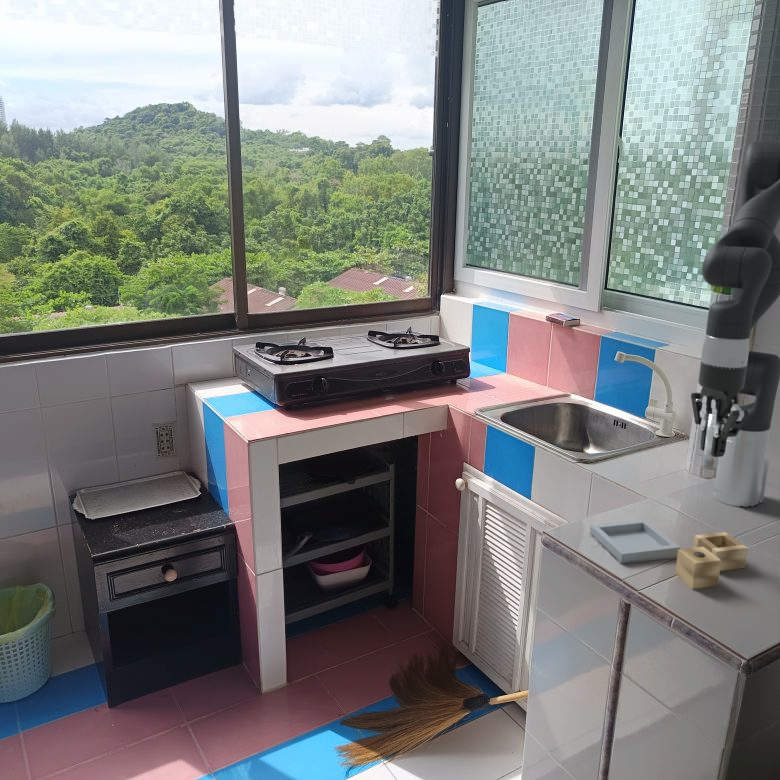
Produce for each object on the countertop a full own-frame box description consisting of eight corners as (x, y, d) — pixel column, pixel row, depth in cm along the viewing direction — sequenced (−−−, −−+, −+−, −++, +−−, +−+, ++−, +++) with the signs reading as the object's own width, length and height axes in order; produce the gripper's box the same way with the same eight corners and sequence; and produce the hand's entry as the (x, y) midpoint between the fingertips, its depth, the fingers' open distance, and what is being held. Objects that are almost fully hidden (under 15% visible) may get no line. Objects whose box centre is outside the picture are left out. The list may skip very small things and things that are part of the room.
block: (699, 571, 133) (703, 546, 131) (717, 586, 128) (721, 559, 127) (675, 574, 132) (678, 549, 130) (692, 589, 127) (695, 562, 126)
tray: (644, 528, 149) (645, 519, 148) (679, 556, 138) (680, 547, 137) (589, 534, 146) (590, 525, 146) (621, 563, 135) (621, 554, 135)
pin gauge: (711, 463, 137) (718, 411, 135) (720, 468, 135) (727, 415, 132) (699, 464, 137) (705, 412, 134) (707, 469, 134) (714, 416, 132)
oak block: (722, 551, 140) (724, 531, 139) (744, 567, 134) (747, 547, 133) (692, 554, 138) (694, 535, 137) (713, 571, 132) (716, 551, 131)
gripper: (769, 369, 125) (755, 465, 129) (718, 352, 138) (706, 439, 143) (730, 371, 123) (717, 468, 128) (682, 353, 137) (671, 442, 141)
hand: (711, 452), depth 135 cm, fingers closed on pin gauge, 2 cm apart
